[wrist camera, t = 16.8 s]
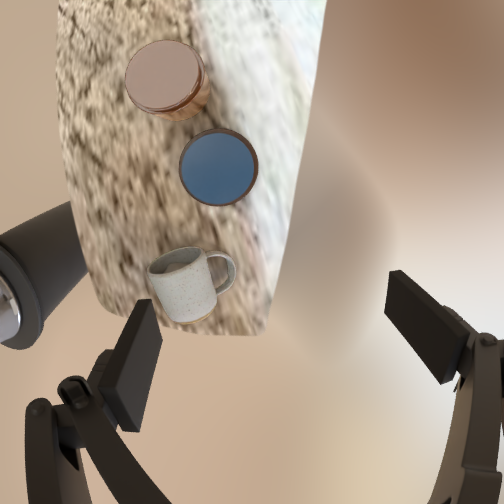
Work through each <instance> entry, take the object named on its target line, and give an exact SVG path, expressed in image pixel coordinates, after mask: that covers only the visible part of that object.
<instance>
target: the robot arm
mask: <svg viewBox="0 0 504 504" xmlns="http://www.w3.org/2000/svg"><path fill="white" fill-rule="evenodd" d="M388 281H389V282H388V289H387V296H386V303H385V310H384V313H385V314H386V316H387V317H388V318H389V319H390V320H391V322H392V323H393V324H394V326H395V327H396V328H397V329H398V330H399V332H400V333H401V334H402V335H403V337H404V338H405V339H406V340H407V342H408V343H409V344H410V345H411V347H412V348H413V349H414V351H415V352H416V353H417V354H418V356H419V357H420V358H421V360H422V361H423V362H424V364H425V365H426V366H427V368H428V369H429V370H430V371H431V373H432V374H433V376H434V377H435V378H436V379H437V381H438V382H439V384H440V385H441V384H444V383H447V382H449V381H451V380H453V378H454V375H455V373H456V371H458V372H459V374H460V378H459V380H458V382H457V384H456V387H455V389H454V391H453V392H455V391H456V389H457V393H456V400H455V406H454V411H453V417H452V422H451V427H450V432H449V436H448V440H447V445H446V449H445V453H444V457H443V460H442V463H441V467H440V470H439V474H438V477H437V480H436V483H435V486H434V489H433V492H432V495H431V498H430V500H429V502H428V503H427V504H497V503H498V499H499V494H500V488H501V483H502V473H501V472H497V470H496V466H497V459H498V451H499V441H500V427H501V423H502V429H503V435H504V340H497V338H496V337H495V336H493V335H492V334H489V333H478V332H477V331H475V329H474V328H472V327H471V326H470V325H469V324H468V323H467V322H466V321H465V320H463V318H462V317H461V316H459V315H458V314H457V313H456V312H455V311H454V310H453V309H451V308H449V307H446V306H445V305H444V306H442V305H440V304H439V303H438V302H437V301H436V300H435V299H434V298H433V297H431V296H430V295H429V294H428V293H427V292H426V291H425V290H424V289H422V288H421V287H420V286H419V285H418V284H417V283H416V282H414V281H413V280H412V279H411V278H410V277H408V276H407V275H406V274H405V273H404V272H403V271H401V270H396V271H390V272H389V280H388ZM22 323H23V311H22V307H21V303H20V300H19V297H18V295H17V293H16V291H15V289H14V287H13V286H12V284H11V283H10V281H9V280H8V278H7V277H6V276H5V275H4V274H3V273H2V272H1V271H0V343H1V342H3V341H5V340H7V339H10V338H12V337H14V336H15V335H16V334H17V332H18V331H19V330H20V329H21V327H22ZM162 341H163V339H162V336H161V333H160V329H159V326H158V322H157V318H156V315H155V311H154V307H153V304H152V300H151V299H141V300H138V301H137V303H136V305H135V307H134V309H133V311H132V313H131V315H130V317H129V319H128V321H127V323H126V325H125V327H124V329H123V331H122V334H121V335H120V337H119V339H118V342H117V344H116V346H115V348H114V349H113V350H112V349H111V350H109V349H107V350H105V351H104V352H103V353H101V354H100V355H99V356H98V359H97V360H96V362H95V365H94V367H93V368H92V371H91V373H90V375H89V377H88V379H87V381H86V380H85V379H84V378H83V377H81V376H70V377H67V378H66V379H64V380H63V381H62V382H61V383H60V384H59V386H58V389H57V392H58V394H59V396H60V398H61V399H62V401H63V403H64V404H61V405H54V406H52V405H51V403H50V402H49V401H48V400H47V399H45V398H37V399H35V400H33V401H32V402H30V403H29V405H28V406H27V408H26V414H25V466H26V467H25V468H26V482H27V493H28V501H29V504H92V501H91V497H90V494H89V490H88V486H87V481H86V477H85V473H84V468H83V463H82V459H81V454H80V448H86V450H87V451H88V453H89V455H90V457H91V459H92V461H93V463H94V464H95V466H96V468H97V470H98V471H99V473H100V475H101V476H102V478H103V480H104V481H105V483H106V485H107V486H108V488H109V490H110V491H111V493H112V494H113V496H114V497H115V499H116V500H117V502H118V503H119V504H172V503H171V502H170V501H169V500H168V499H167V498H166V497H165V495H164V494H163V493H162V492H161V491H160V490H159V488H158V487H157V486H156V485H155V484H154V482H153V481H152V480H151V479H150V478H149V476H148V475H147V474H146V472H145V471H144V470H143V468H142V467H141V466H140V465H139V463H138V462H137V461H136V459H135V458H134V456H133V455H132V454H131V452H130V451H129V449H128V448H127V447H126V445H125V444H124V442H123V441H122V439H121V438H120V436H119V435H118V433H117V432H116V428H117V425H118V424H119V426H120V427H121V429H122V431H125V432H140V428H141V423H142V419H143V415H144V411H145V406H146V402H147V398H148V394H149V390H150V386H151V382H152V378H153V374H154V371H155V367H156V363H157V359H158V356H159V352H160V348H161V345H162Z"/></svg>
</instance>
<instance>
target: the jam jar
mask: <svg viewBox="0 0 504 504" xmlns="http://www.w3.org/2000/svg"><path fill="white" fill-rule="evenodd" d="M125 85H126V89H127V92H128V95H129V97H130V99H131V100H132V102H133V103H134V104H135V105H136V106H137V107H138V108H140V109H141V110H143V111H145V112H147V113H150V114H153V115H156V116H159V117H161V118H164V119H167V120H171V121H181V120H186V119H189V118H191V117H193V116H195V115H196V114H197V113H199V112H200V111H201V110H202V109H203V108H204V106H205V105H206V103H207V101H208V99H209V95H210V83H209V79H208V76H207V73H206V70H205V67H204V64H203V61H202V59H201V57H200V55H199V54H198V53H197V52H196V51H195V50H194V49H193V48H192V47H190V46H188V45H186V44H184V43H181V42H178V41H174V40H161V41H156V42H153V43H150V44H148V45H146V46H145V47H143V48H142V49H141V50H139V51H138V52H137V53H136V54H135V55H134V57H133V58H132V59H131V61H130V63H129V65H128V67H127V70H126V74H125Z"/></svg>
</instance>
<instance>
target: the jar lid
mask: <svg viewBox="0 0 504 504" xmlns="http://www.w3.org/2000/svg"><path fill="white" fill-rule="evenodd" d="M181 169H182V177H183V181H184V183H185V185H186V187H187V189H188V190H189V191H190V192H191V193H192V194H193V195H194V196H195V197H196V198H198V199H199V200H201V201H204V202H206V203H210V204H224V203H228V202H231V201H233V200H235V199H237V198H238V197H240V196H241V195H242V194H243V193H244V192H245V191H246V190H247V188H248V187H249V185H250V183H251V181H252V178H253V173H254V163H253V158H252V155H251V153H250V151H249V150H248V148H247V147H246V146H245V144H244V143H243V142H241V141H240V140H239V139H237V138H235V137H234V136H233V135H232V136H231V135H228V134H223V133H213V134H208V135H204V136H203V137H201V138H199V139H197V140H196V141H195V142H194V143H192V144H191V145H190V147H189V148H188V149H187V151H186V153H185V155H184V157H183V161H182V168H181Z"/></svg>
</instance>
